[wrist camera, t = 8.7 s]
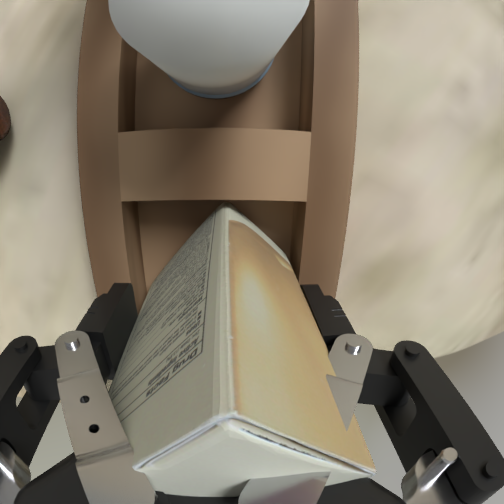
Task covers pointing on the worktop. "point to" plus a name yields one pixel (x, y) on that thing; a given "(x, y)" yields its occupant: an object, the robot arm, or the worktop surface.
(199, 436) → the skincare box
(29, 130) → the worktop surface
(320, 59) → the holder
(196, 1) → the ceramic tube
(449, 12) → the worktop surface
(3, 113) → the bolt
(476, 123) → the worktop surface
